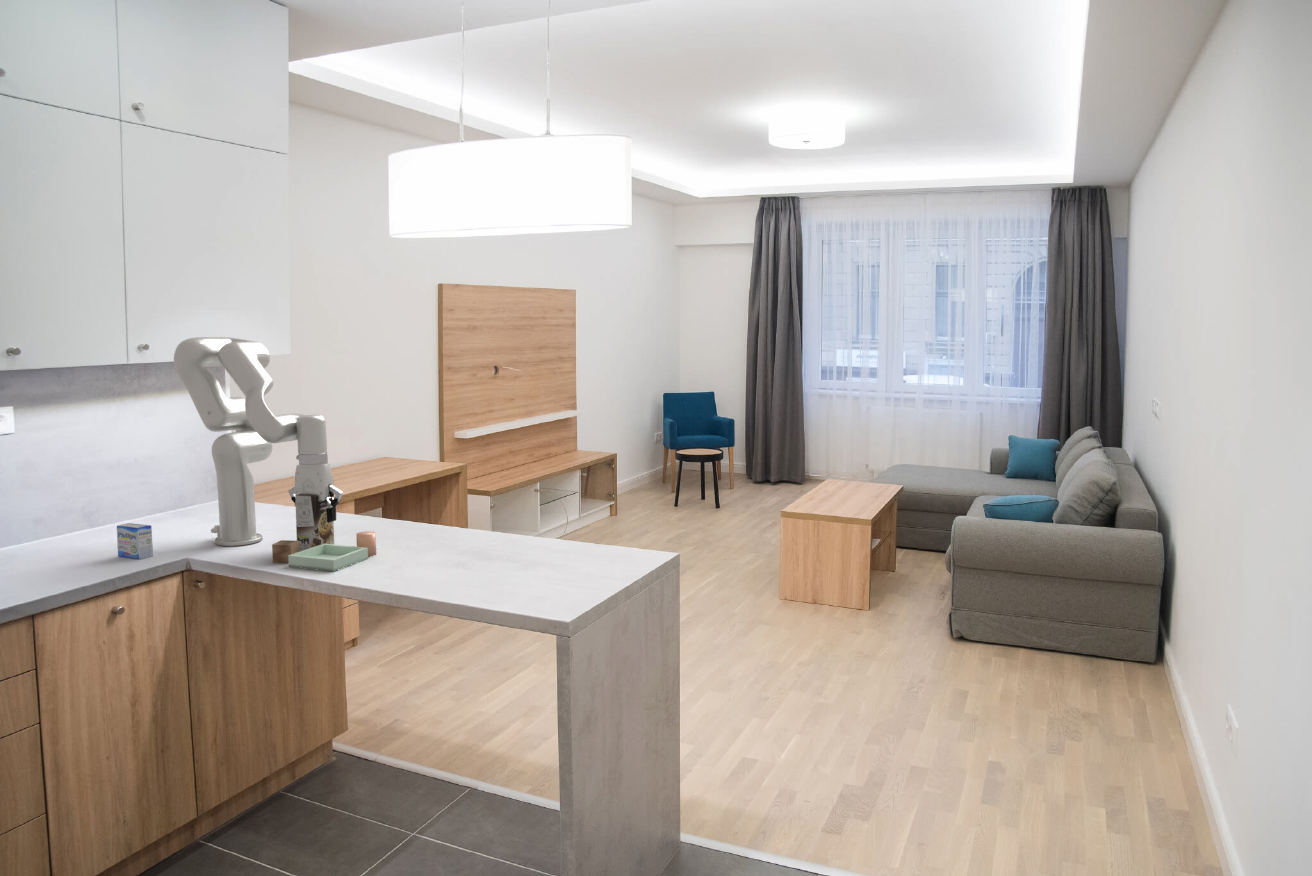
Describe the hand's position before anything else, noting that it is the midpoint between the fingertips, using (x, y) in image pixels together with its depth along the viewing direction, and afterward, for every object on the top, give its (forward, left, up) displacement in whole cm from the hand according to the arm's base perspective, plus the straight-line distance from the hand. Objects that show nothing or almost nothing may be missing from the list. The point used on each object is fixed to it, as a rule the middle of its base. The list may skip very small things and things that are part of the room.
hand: (317, 520), depth 251 cm
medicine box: (-41, -23, -9) cm, 47 cm away
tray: (+12, -11, -8) cm, 18 cm away
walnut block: (0, -13, -8) cm, 15 cm away
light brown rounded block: (+16, 0, -8) cm, 18 cm away
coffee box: (-1, 0, -8) cm, 8 cm away
